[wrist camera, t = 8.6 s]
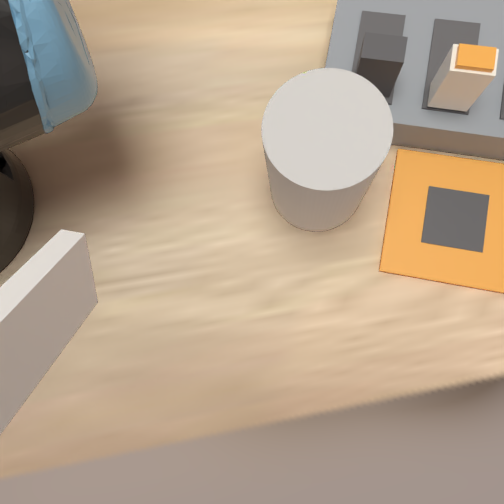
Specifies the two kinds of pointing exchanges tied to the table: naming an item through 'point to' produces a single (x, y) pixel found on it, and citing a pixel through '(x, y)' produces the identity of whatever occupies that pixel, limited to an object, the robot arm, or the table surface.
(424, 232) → the pad
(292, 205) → the white closed cylinder
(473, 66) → the toggle
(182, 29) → the table surface
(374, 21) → the grey switch box
